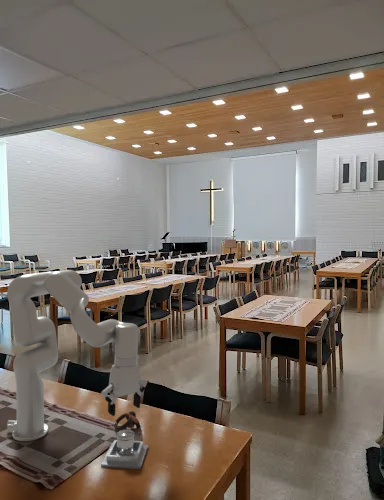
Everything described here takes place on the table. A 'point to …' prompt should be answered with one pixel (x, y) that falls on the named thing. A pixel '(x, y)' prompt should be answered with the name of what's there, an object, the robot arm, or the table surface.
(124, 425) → the pottery mug
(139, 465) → the duct collar
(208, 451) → the table surface
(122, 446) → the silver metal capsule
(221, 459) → the table surface
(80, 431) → the table surface
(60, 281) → the robot arm
